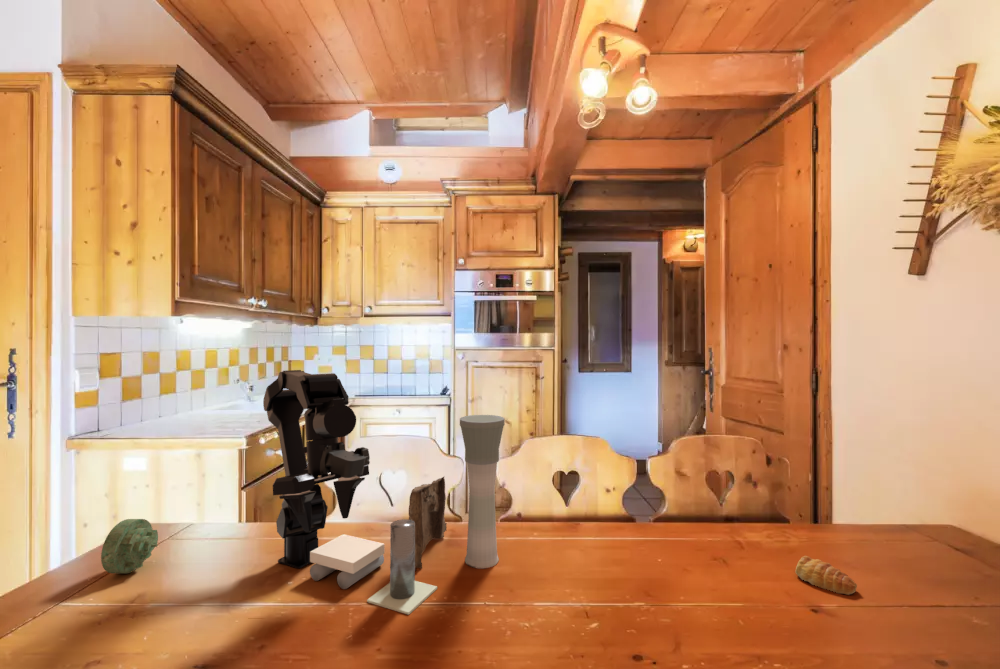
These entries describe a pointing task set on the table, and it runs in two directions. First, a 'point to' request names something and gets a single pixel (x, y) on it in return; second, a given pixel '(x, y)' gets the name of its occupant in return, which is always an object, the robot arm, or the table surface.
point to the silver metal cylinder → (402, 559)
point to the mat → (402, 605)
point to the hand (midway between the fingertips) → (327, 524)
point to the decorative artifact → (128, 546)
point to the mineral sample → (427, 515)
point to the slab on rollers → (346, 559)
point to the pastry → (824, 576)
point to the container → (482, 486)
